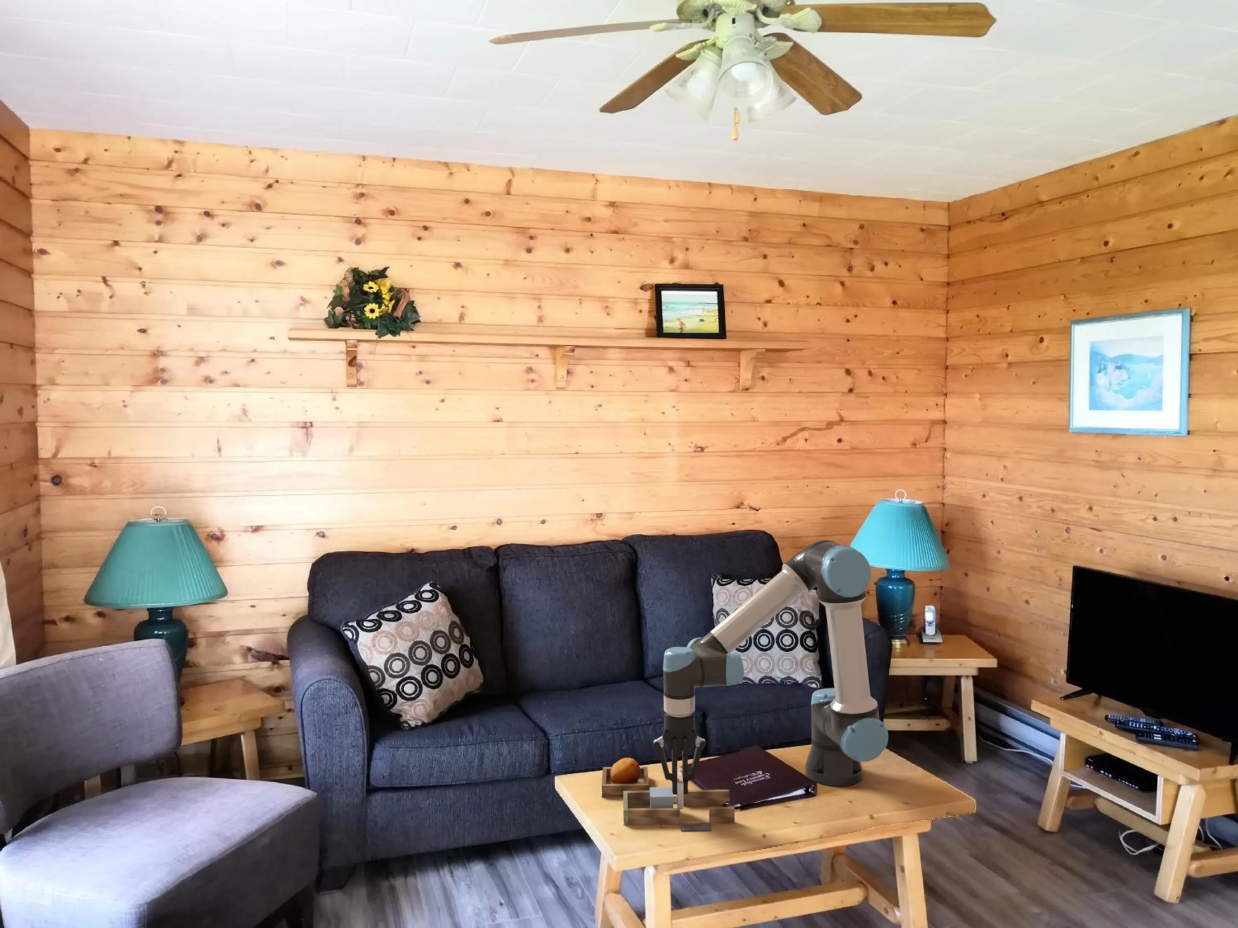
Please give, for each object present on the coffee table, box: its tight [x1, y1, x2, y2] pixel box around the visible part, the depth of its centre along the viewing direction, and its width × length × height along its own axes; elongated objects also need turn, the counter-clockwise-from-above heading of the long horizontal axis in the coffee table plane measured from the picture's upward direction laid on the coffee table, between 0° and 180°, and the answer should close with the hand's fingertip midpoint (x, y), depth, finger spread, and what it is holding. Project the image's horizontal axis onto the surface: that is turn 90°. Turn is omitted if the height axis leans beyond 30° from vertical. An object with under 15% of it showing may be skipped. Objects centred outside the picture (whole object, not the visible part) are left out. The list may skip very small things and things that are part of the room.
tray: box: [601, 766, 650, 798], centre depth 238 cm, size 12×12×3 cm
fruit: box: [610, 757, 641, 784], centre depth 238 cm, size 8×8×8 cm
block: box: [649, 786, 674, 808], centre depth 222 cm, size 6×6×6 cm
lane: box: [622, 789, 736, 832], centre depth 222 cm, size 26×18×4 cm
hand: (680, 806), depth 222 cm, fingers closed
